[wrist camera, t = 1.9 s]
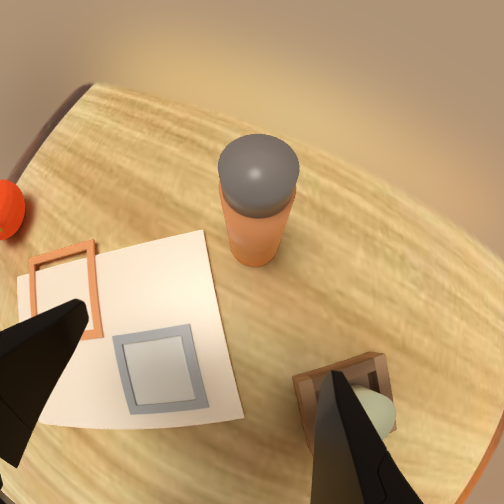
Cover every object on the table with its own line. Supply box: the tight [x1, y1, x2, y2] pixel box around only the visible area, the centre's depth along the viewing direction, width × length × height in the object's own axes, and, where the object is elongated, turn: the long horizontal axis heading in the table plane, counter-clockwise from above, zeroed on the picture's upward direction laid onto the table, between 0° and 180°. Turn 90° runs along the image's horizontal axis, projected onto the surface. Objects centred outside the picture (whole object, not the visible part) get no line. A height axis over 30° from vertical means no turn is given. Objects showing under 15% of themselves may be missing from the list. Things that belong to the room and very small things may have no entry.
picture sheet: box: [17, 230, 244, 429], centre depth 21 cm, size 18×22×1 cm
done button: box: [350, 384, 396, 440], centre depth 16 cm, size 4×4×4 cm
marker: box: [218, 134, 299, 267], centre depth 18 cm, size 4×4×12 cm
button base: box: [292, 352, 397, 457], centre depth 19 cm, size 7×7×3 cm
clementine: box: [0, 180, 25, 240], centre depth 21 cm, size 8×7×7 cm
